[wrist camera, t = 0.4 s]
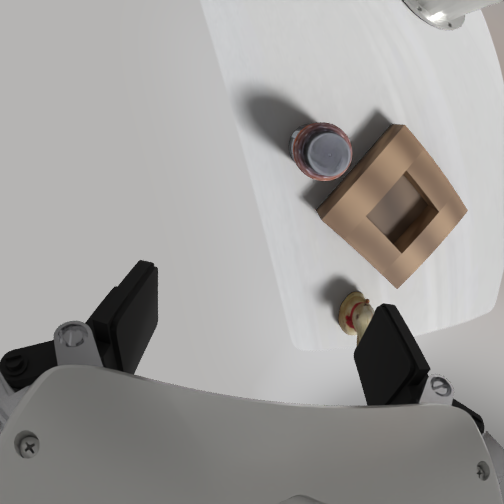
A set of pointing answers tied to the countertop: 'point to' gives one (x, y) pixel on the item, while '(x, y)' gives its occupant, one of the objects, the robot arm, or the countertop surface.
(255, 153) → the countertop surface
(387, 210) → the socket block
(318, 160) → the supplement bottle
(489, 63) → the countertop surface
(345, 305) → the chocolate bunny
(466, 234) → the countertop surface
